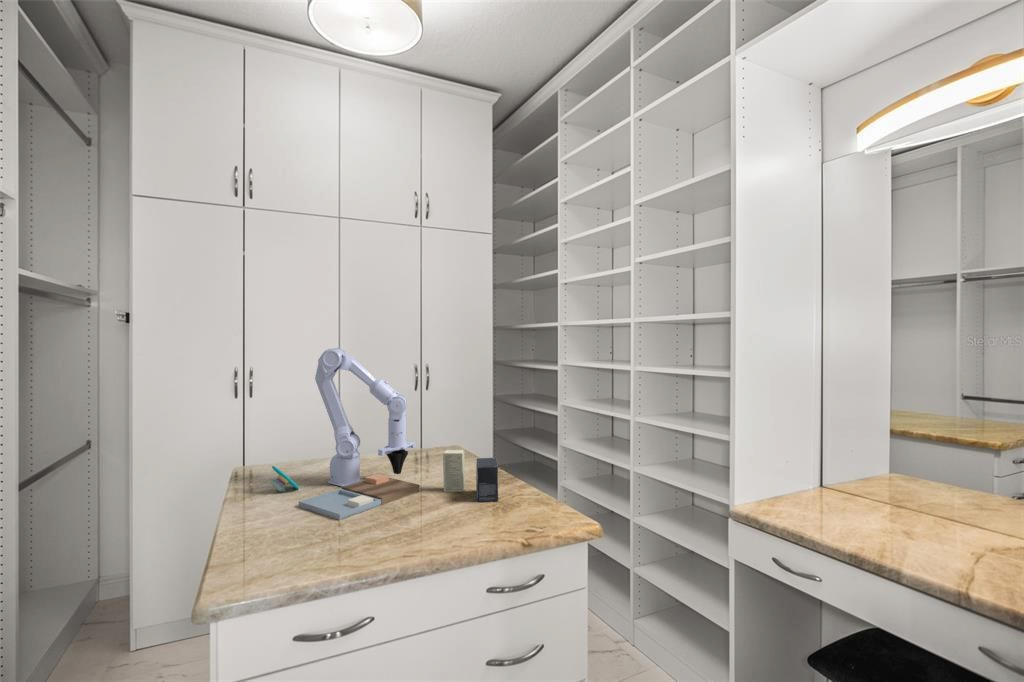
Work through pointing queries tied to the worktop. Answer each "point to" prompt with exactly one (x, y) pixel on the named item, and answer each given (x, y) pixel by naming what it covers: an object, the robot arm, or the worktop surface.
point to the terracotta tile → (377, 479)
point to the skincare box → (454, 470)
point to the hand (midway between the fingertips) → (397, 473)
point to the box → (336, 504)
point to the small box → (487, 480)
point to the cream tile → (359, 501)
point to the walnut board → (384, 489)
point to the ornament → (281, 481)
